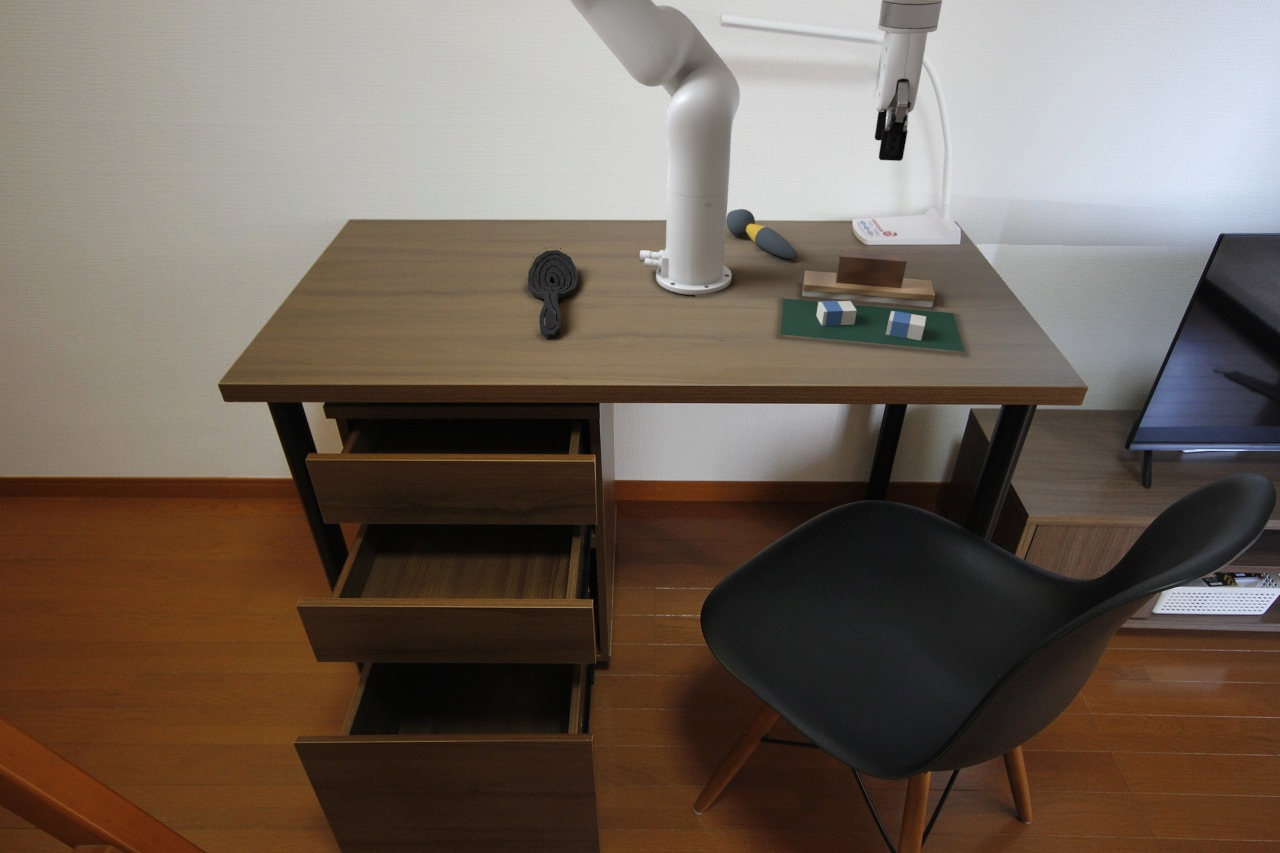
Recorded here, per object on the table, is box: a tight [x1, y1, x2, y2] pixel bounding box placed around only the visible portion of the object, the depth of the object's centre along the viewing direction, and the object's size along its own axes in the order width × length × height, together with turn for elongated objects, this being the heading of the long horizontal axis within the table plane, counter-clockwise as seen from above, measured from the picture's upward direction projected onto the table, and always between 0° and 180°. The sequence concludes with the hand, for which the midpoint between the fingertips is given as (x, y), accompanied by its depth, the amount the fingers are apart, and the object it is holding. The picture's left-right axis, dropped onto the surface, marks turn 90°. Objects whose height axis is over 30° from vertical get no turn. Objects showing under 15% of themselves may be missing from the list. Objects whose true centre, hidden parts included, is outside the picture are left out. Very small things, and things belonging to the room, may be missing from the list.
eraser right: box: [886, 311, 926, 341], centre depth 114 cm, size 5×3×2 cm, turn 69°
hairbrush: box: [527, 246, 579, 340], centre depth 123 cm, size 8×4×25 cm
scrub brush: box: [801, 250, 936, 308], centre depth 123 cm, size 20×5×7 cm, turn 79°
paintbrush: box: [726, 208, 798, 261], centre depth 141 cm, size 20×5×5 cm, turn 38°
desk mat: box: [779, 298, 966, 353], centre depth 117 cm, size 26×12×1 cm, turn 79°
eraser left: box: [816, 300, 857, 326], centre depth 117 cm, size 5×3×2 cm, turn 94°
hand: (887, 149), depth 112 cm, fingers open, 9 cm apart
